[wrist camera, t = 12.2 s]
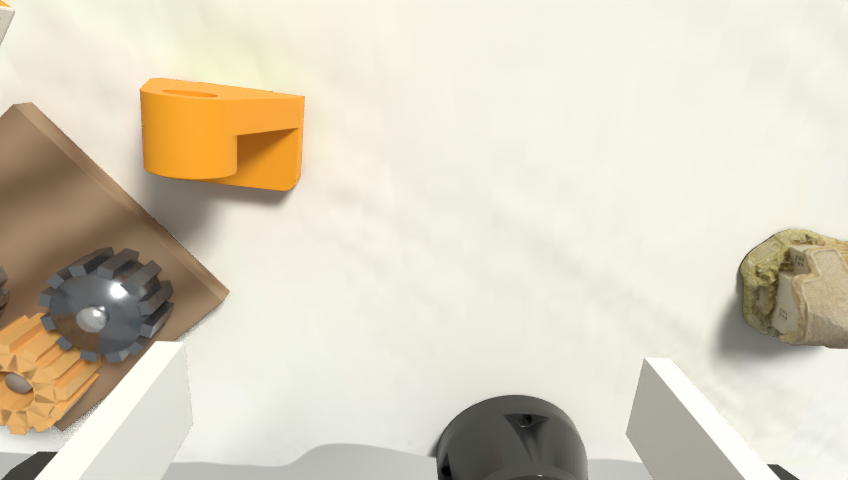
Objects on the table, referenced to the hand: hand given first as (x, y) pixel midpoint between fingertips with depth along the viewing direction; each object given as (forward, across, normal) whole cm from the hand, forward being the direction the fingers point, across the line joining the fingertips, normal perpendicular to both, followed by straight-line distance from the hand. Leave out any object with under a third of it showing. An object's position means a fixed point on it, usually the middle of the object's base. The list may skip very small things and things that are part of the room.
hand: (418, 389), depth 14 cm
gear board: (+29, +30, +11) cm, 43 cm away
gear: (+27, +23, +11) cm, 38 cm away
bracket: (+30, +14, -3) cm, 33 cm away
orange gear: (+27, +30, +17) cm, 44 cm away
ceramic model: (+30, -38, +8) cm, 49 cm away
